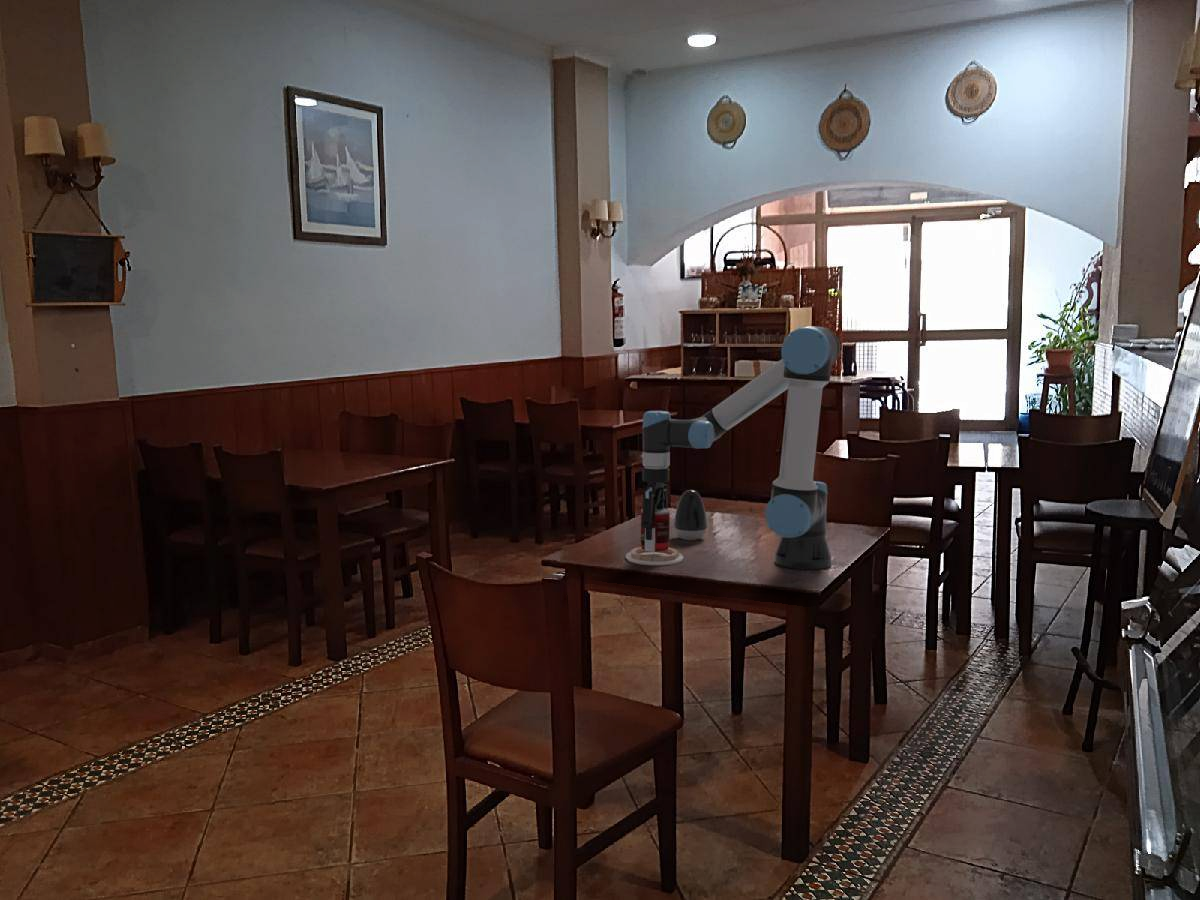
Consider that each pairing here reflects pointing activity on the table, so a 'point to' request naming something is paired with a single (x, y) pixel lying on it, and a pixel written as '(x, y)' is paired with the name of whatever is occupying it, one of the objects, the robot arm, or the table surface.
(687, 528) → the dark grey rounded dome
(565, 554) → the table surface
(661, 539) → the canned food
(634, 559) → the dish
